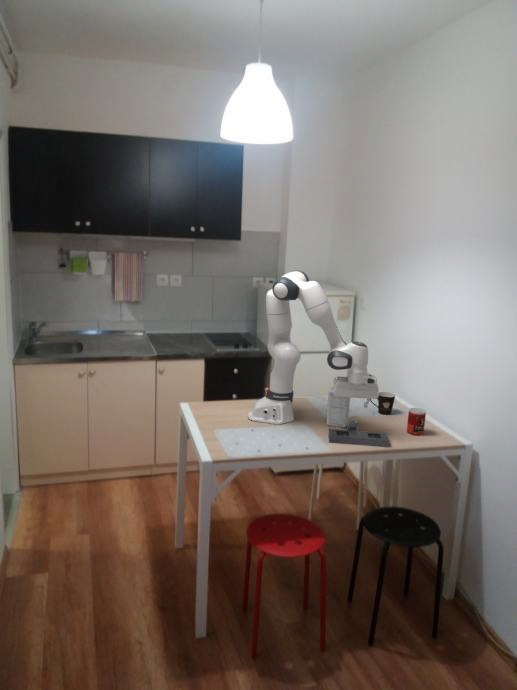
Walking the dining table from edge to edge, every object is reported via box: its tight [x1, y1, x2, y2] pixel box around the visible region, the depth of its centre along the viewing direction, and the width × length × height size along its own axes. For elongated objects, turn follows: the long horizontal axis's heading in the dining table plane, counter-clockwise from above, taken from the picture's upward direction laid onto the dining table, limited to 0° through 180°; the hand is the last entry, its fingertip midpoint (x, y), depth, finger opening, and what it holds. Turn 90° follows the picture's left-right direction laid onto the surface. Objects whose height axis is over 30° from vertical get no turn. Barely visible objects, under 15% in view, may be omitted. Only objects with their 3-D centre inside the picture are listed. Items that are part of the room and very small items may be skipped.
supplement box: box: [326, 386, 351, 428], centre depth 275 cm, size 10×9×17 cm
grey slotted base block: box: [327, 428, 390, 448], centre depth 256 cm, size 26×9×3 cm, turn 85°
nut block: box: [346, 418, 358, 431], centre depth 264 cm, size 4×4×6 cm
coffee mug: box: [370, 391, 396, 416], centre depth 295 cm, size 12×9×10 cm
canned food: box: [406, 407, 427, 437], centre depth 268 cm, size 8×8×11 cm
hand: (355, 406), depth 262 cm, fingers open, 8 cm apart
